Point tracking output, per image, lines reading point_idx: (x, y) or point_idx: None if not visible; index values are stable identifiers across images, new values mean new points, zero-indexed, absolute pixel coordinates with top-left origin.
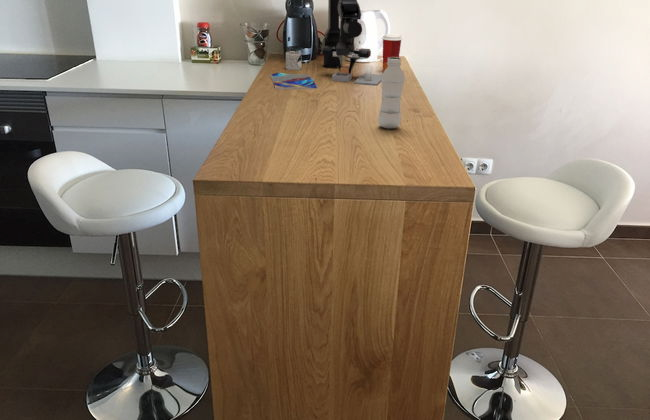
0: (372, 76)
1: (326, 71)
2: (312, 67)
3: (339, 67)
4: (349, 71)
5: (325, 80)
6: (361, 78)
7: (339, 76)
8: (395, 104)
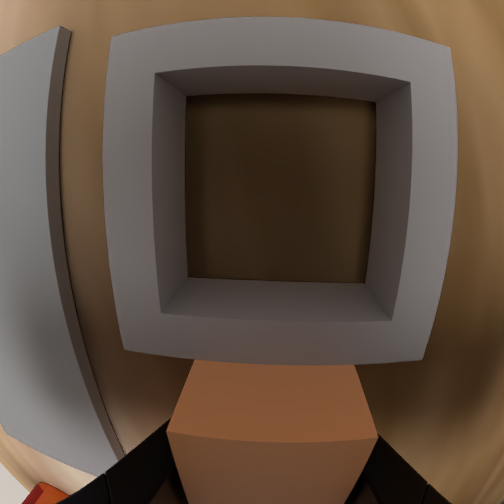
0: (18, 392)
1: (451, 475)
2: (495, 487)
3: (390, 464)
4: None
5: (481, 74)
6: (28, 280)
7: (299, 22)
8: None
